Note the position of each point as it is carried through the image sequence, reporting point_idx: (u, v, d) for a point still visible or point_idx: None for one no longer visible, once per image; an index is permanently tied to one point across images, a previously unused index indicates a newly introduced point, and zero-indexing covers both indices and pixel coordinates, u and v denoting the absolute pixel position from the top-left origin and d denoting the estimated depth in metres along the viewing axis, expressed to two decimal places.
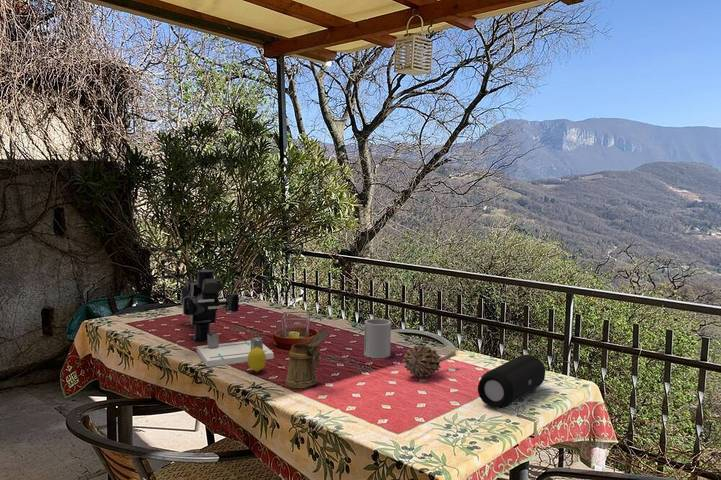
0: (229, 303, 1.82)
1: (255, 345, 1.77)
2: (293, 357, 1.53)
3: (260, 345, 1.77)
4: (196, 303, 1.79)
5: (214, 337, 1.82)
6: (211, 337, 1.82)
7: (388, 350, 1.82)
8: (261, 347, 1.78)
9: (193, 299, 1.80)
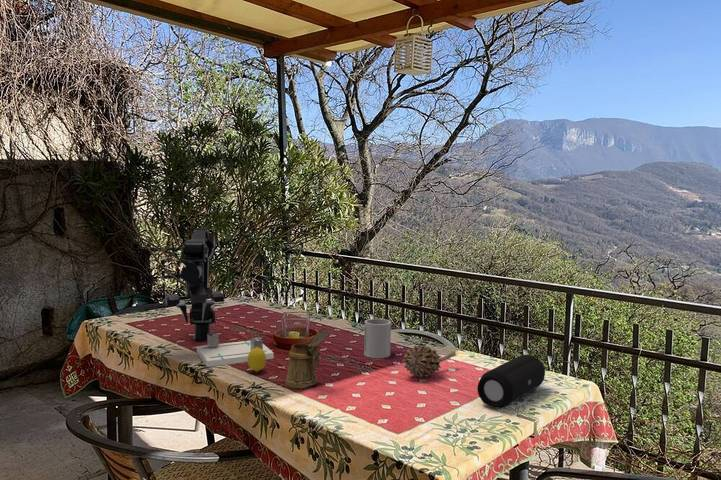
0: (205, 314, 1.81)
1: (255, 345, 1.77)
2: (293, 357, 1.53)
3: (260, 345, 1.77)
4: (184, 311, 1.77)
5: (214, 337, 1.82)
6: (211, 337, 1.82)
7: (388, 350, 1.82)
8: (261, 347, 1.78)
9: (182, 307, 1.76)
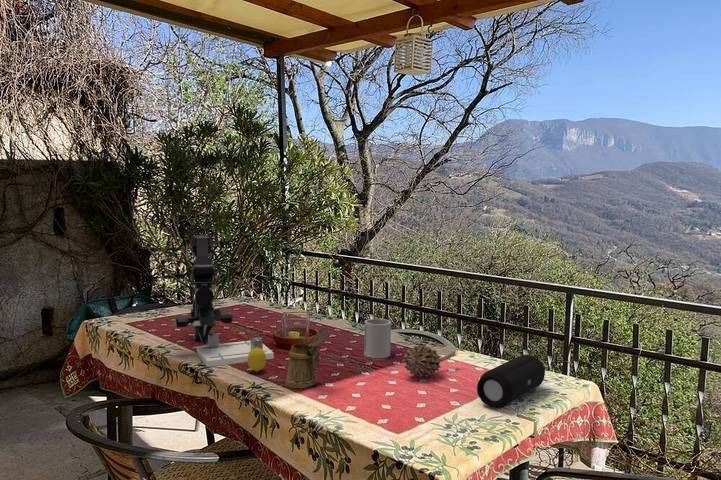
0: (206, 335, 1.82)
1: (255, 345, 1.77)
2: (293, 357, 1.53)
3: (260, 345, 1.77)
4: (200, 331, 1.80)
5: (214, 337, 1.82)
6: (211, 337, 1.82)
7: (388, 350, 1.82)
8: (261, 347, 1.78)
9: (199, 328, 1.79)
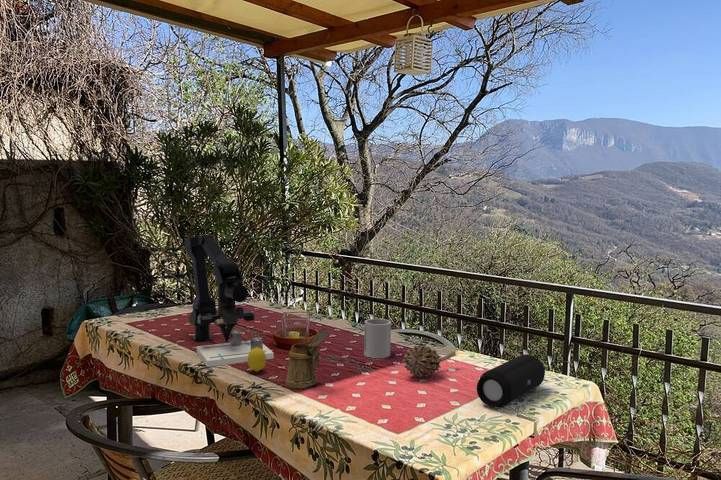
0: (228, 333, 1.85)
1: (255, 345, 1.77)
2: (293, 357, 1.53)
3: (260, 345, 1.77)
4: (223, 329, 1.84)
5: (237, 335, 1.86)
6: (234, 335, 1.85)
7: (388, 350, 1.82)
8: (261, 347, 1.78)
9: (222, 325, 1.83)
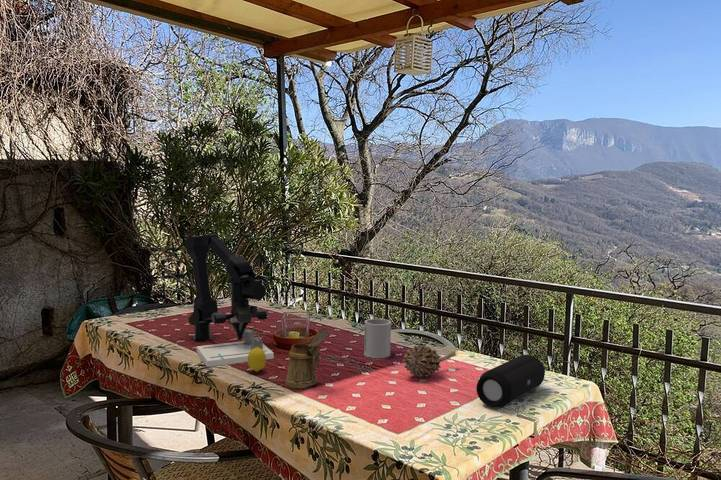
0: (242, 332, 1.87)
1: (255, 345, 1.77)
2: (293, 357, 1.53)
3: (260, 345, 1.77)
4: (237, 328, 1.86)
5: (250, 333, 1.88)
6: (247, 333, 1.87)
7: (388, 350, 1.82)
8: (261, 347, 1.78)
9: (235, 324, 1.85)
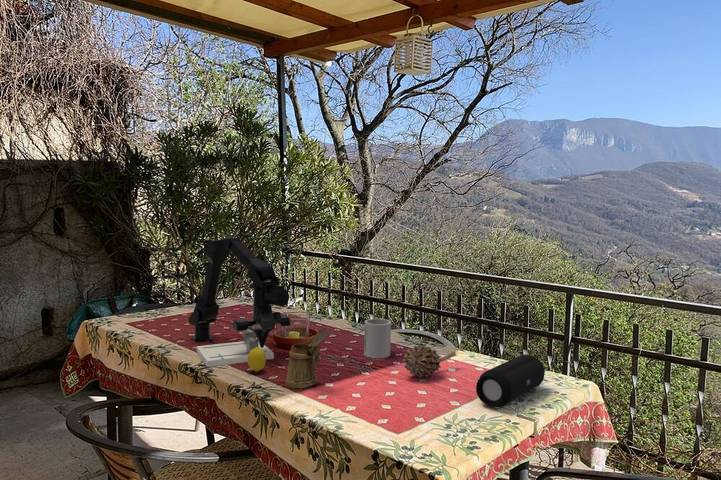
0: (264, 339, 1.79)
1: (251, 345, 1.76)
2: (293, 357, 1.53)
3: (256, 345, 1.77)
4: (259, 335, 1.78)
5: (250, 333, 1.88)
6: (248, 333, 1.88)
7: (388, 350, 1.82)
8: None
9: (258, 331, 1.76)
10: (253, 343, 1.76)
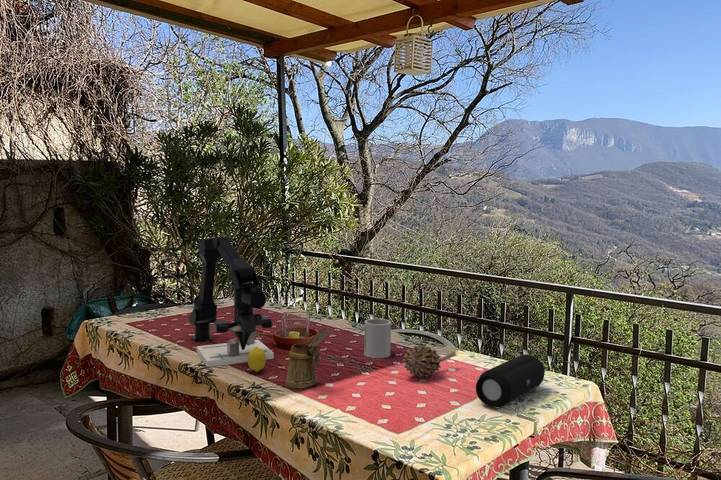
0: (245, 341, 1.76)
1: (231, 348, 1.73)
2: (293, 357, 1.53)
3: (236, 348, 1.74)
4: (240, 337, 1.75)
5: None
6: None
7: (388, 350, 1.82)
8: (237, 350, 1.74)
9: (239, 333, 1.73)
10: (234, 345, 1.73)
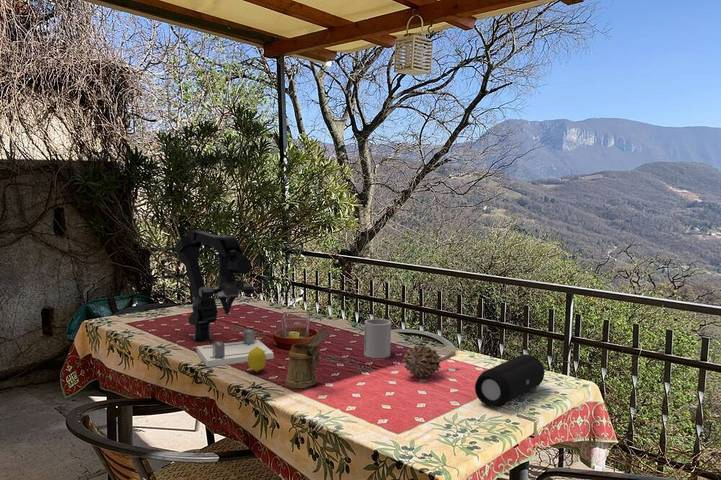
0: (229, 306, 1.90)
1: (216, 349, 1.71)
2: (293, 357, 1.53)
3: (222, 349, 1.72)
4: (224, 302, 1.88)
5: (250, 333, 1.88)
6: (248, 333, 1.88)
7: (388, 350, 1.82)
8: (223, 351, 1.72)
9: (222, 298, 1.87)
10: (219, 347, 1.71)
